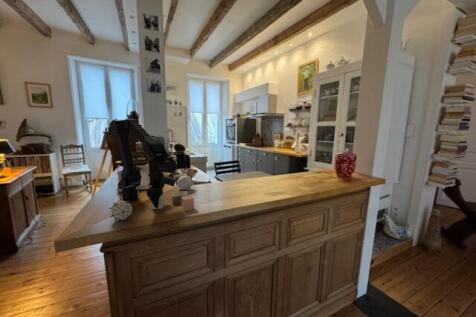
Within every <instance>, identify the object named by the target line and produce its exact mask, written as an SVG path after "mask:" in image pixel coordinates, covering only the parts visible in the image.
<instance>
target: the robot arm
mask: <svg viewBox="0 0 476 317" xmlns="http://www.w3.org/2000/svg"><path fill="white" fill-rule="evenodd" d="M108 126H109V129H110V131H111V134H112V136H113V137H114V138H116V141H117V144H118V150H119V154H120V155H119V156H120V160H121V163H122V171H121V173H120V180H119V182H118V183H117V187H118V189H119V190H121V194H122V197H121V198H122V200H123V201H127V202H128V201H129V202H134V201H137V200H138V199H139V197H140V195H139V194H140V192H139V188H138V187H141V182H142V174H141V170H140V169H139V168H137V167H136V166H135V162H134V158H133V153H132V148H131V144H130V138H129V137H130V135H131V133H132V135H134V138H136V139H137V140H138V141H139V142H140V143H141V148H142V150H143V152H144V153H145V155H146V157H145V158H144V160H145V161H147V164H148V165H147V166H148V174H147V176H148V181H149V182H148V187H147V189H146V191H145V193H146V197H148V199H149V200H150V201H151V202H150V203H151V204H152V203H153V205H154V207H155V208H158V204H159V197H160V196H162V195H163V196H164V187H166V186H165V185H167V186H171V187H175V184H176V182H177V177H175V175H174V173H175V172H176V170H177V169H178V163H177V162H176V160H175V159H174V157H173V156H170V155H169V152H168V151H167V150H166V148H165V146H164V143H162V142H161V141H159V139H157V138H154V137H152V136H151V135H150V134H149V133H148V132H147V131H146V129H145V128H143V126H142V125H141V124H140V123H139V122H138V120H137V119H135V118H126V119H112V120H111V122H110V123H109V124H108ZM164 173H166V174H164Z"/></svg>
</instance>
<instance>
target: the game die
mask: <svg viewBox="0 0 476 317" xmlns="http://www.w3.org/2000/svg"><path fill="white" fill-rule="evenodd" d="M133 206H134V203H130V201H123V199H122V197H120V198H119V201H118V202H116V203H115V202H113V206H112V207H108V209H109V210H110V212H111V215H110V216H109V218H112V217H113V218H114V220H120V221H122V223H125V220H126V219H127V218H128V217H131V216H130V215H132V214H133V213H136V211H135V210H133Z"/></svg>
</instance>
